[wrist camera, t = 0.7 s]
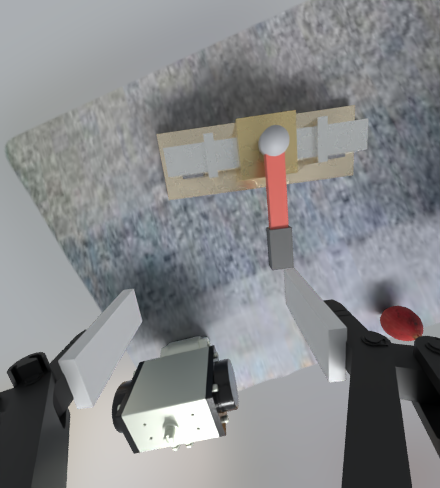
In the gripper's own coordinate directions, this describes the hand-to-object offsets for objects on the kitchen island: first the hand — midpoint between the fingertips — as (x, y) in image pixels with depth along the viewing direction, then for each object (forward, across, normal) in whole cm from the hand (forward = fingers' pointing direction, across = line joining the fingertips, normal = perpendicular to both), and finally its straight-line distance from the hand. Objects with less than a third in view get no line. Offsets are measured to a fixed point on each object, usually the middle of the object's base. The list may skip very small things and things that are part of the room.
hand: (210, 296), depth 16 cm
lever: (+12, +8, +5) cm, 16 cm away
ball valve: (+24, -9, -24) cm, 35 cm away
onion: (+24, +31, -21) cm, 44 cm away
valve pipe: (+24, +8, +11) cm, 28 cm away
